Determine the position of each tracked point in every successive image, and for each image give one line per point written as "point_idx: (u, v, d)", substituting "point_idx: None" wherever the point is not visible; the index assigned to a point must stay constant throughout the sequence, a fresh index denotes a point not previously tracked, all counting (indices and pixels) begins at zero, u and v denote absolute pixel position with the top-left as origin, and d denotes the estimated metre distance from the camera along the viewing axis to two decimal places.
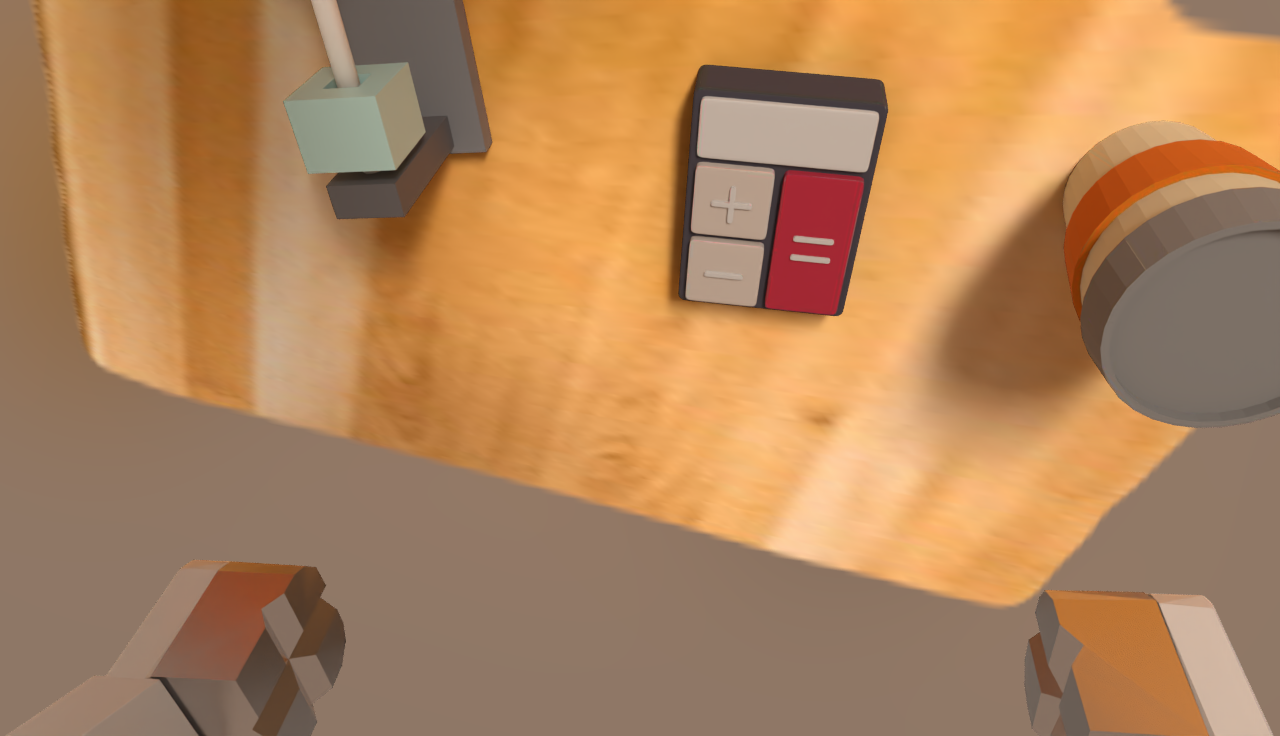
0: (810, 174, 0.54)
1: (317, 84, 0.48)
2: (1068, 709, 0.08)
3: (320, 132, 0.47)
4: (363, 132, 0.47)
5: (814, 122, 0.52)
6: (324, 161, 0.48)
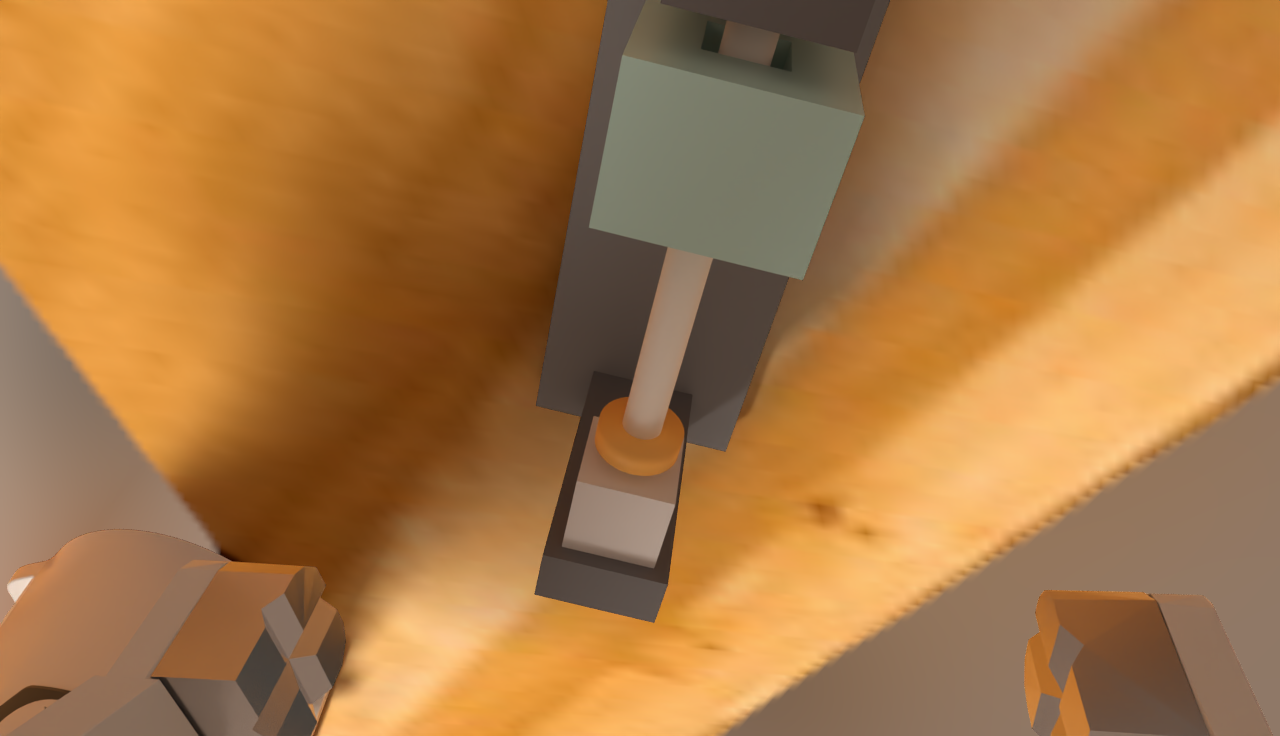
0: None
1: None
2: (1068, 709, 0.08)
3: (761, 197, 0.20)
4: (655, 166, 0.20)
5: None
6: (798, 132, 0.19)
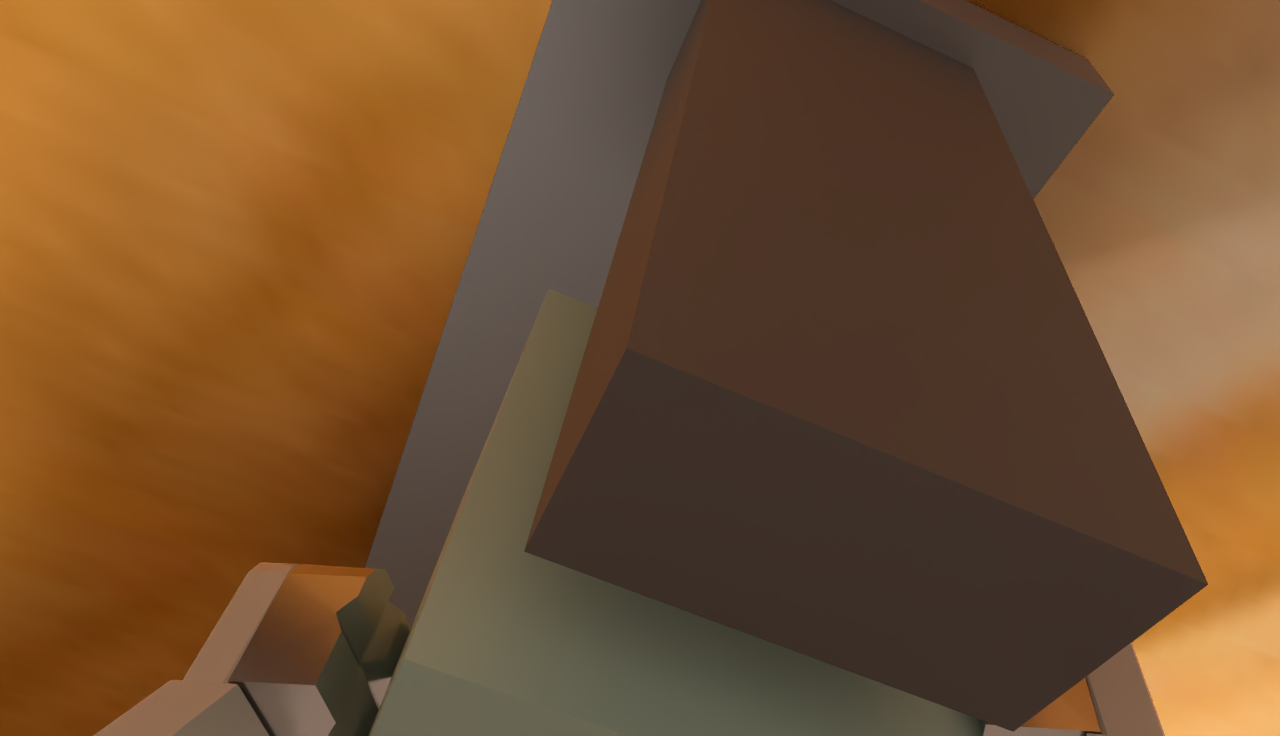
0: None
1: None
2: None
3: None
4: None
5: None
6: None
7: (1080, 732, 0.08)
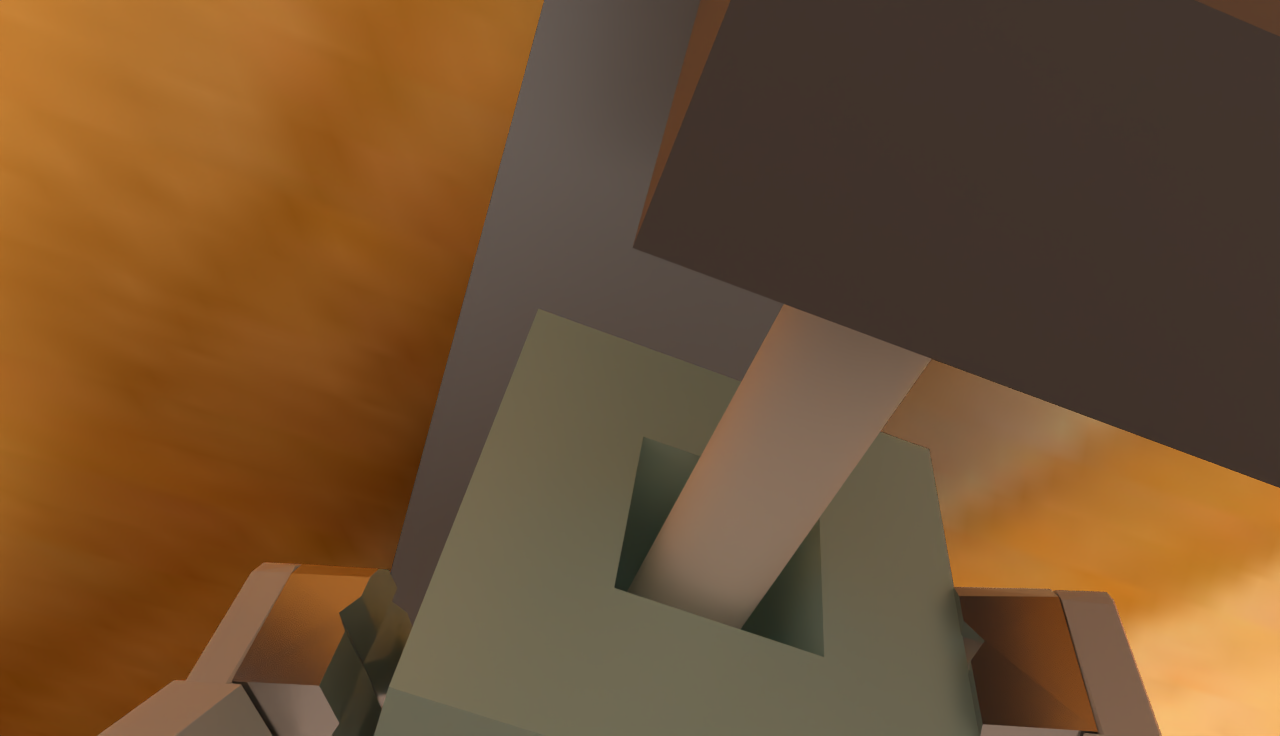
0: None
1: None
2: None
3: None
4: None
5: None
6: None
7: (1077, 732, 0.08)
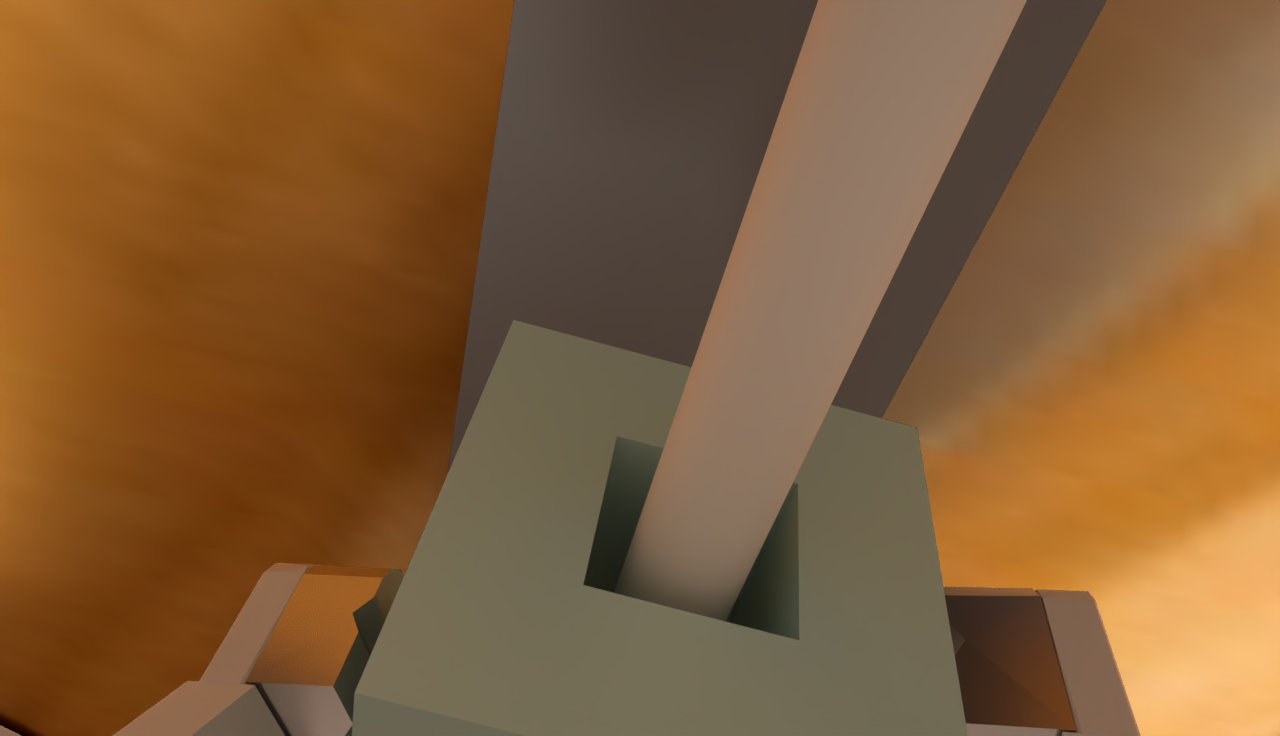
0: None
1: None
2: None
3: None
4: None
5: None
6: None
7: (1055, 731, 0.08)
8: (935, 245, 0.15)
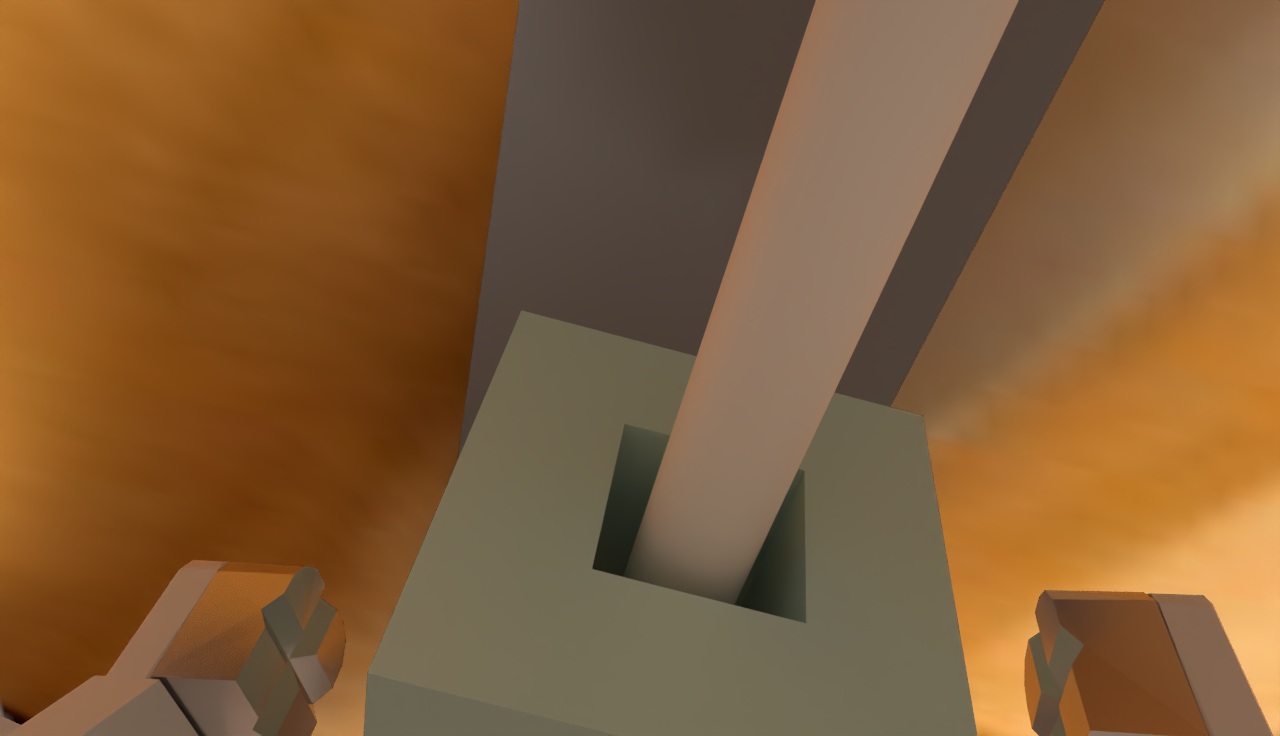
0: None
1: None
2: (1068, 709, 0.08)
3: None
4: None
5: None
6: None
7: None
8: (941, 236, 0.15)
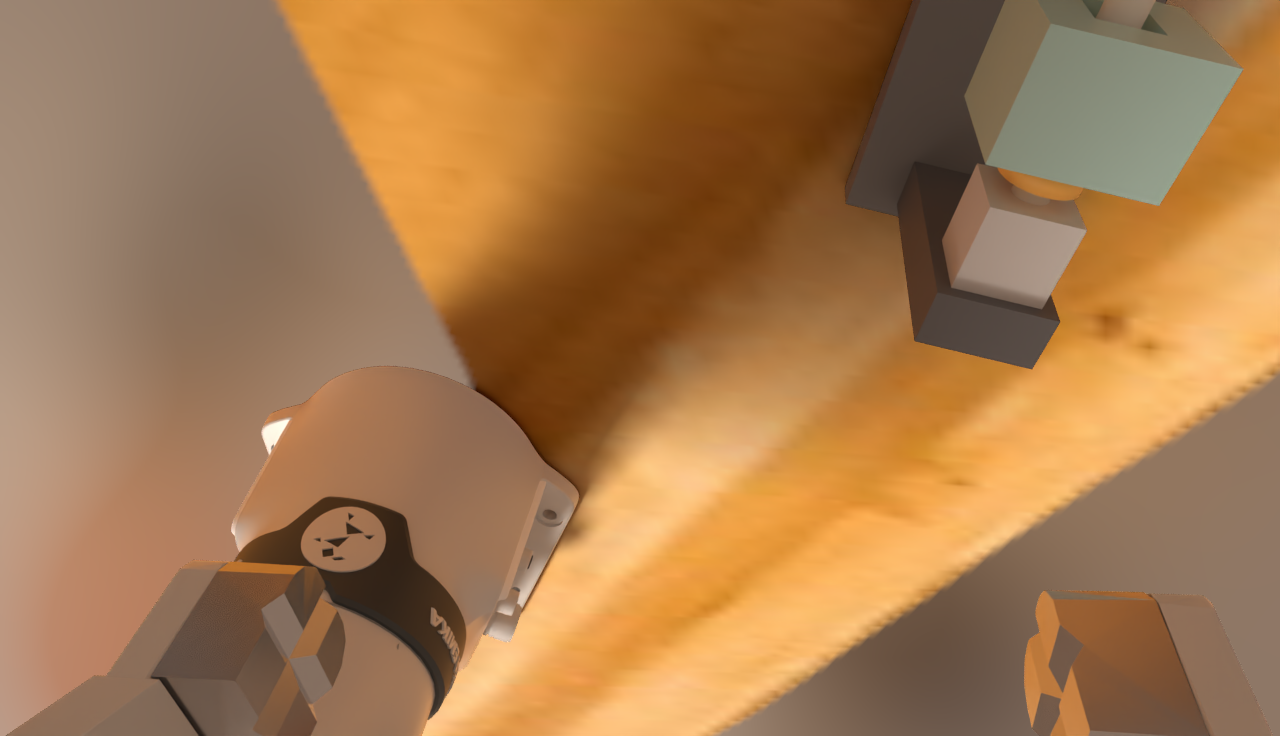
0: None
1: None
2: (1068, 709, 0.08)
3: (1140, 136, 0.25)
4: (1056, 113, 0.25)
5: None
6: (1184, 83, 0.24)
7: None
8: None
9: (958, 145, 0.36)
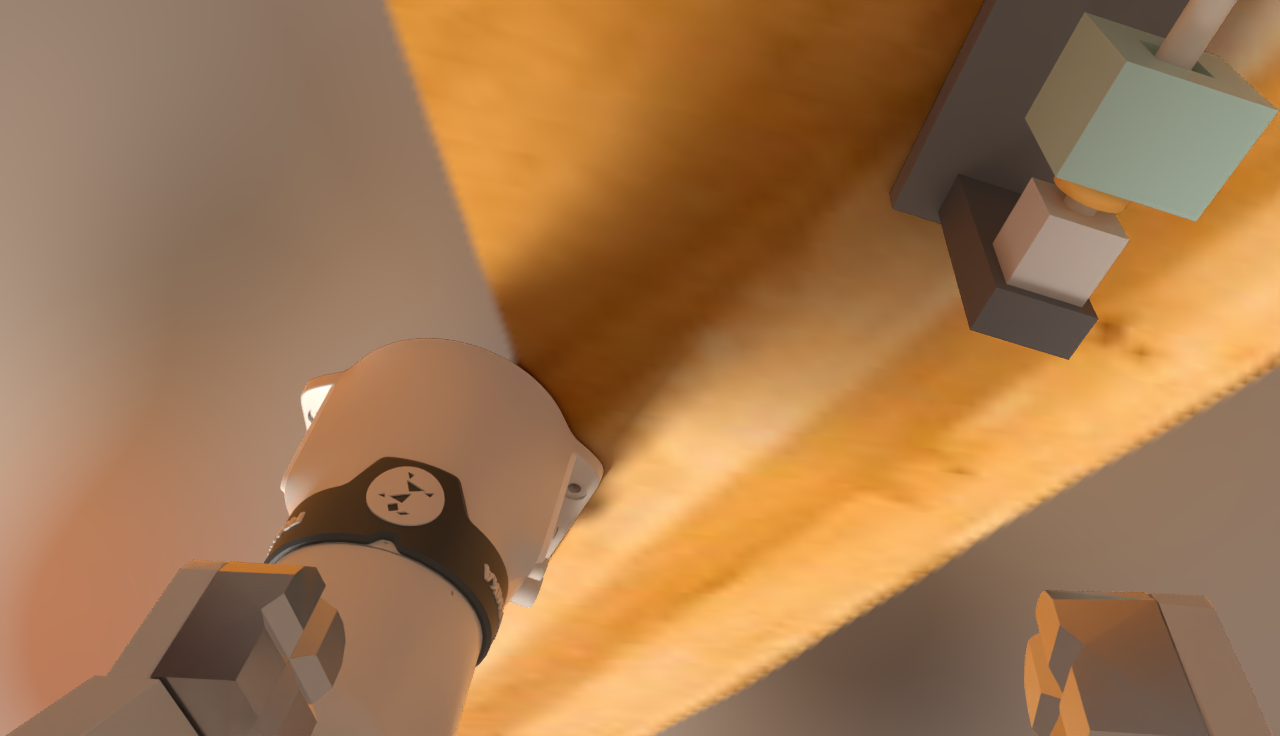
0: None
1: None
2: (1068, 709, 0.08)
3: (1187, 161, 0.29)
4: (1121, 136, 0.29)
5: None
6: (1229, 118, 0.28)
7: None
8: None
9: (998, 162, 0.40)
